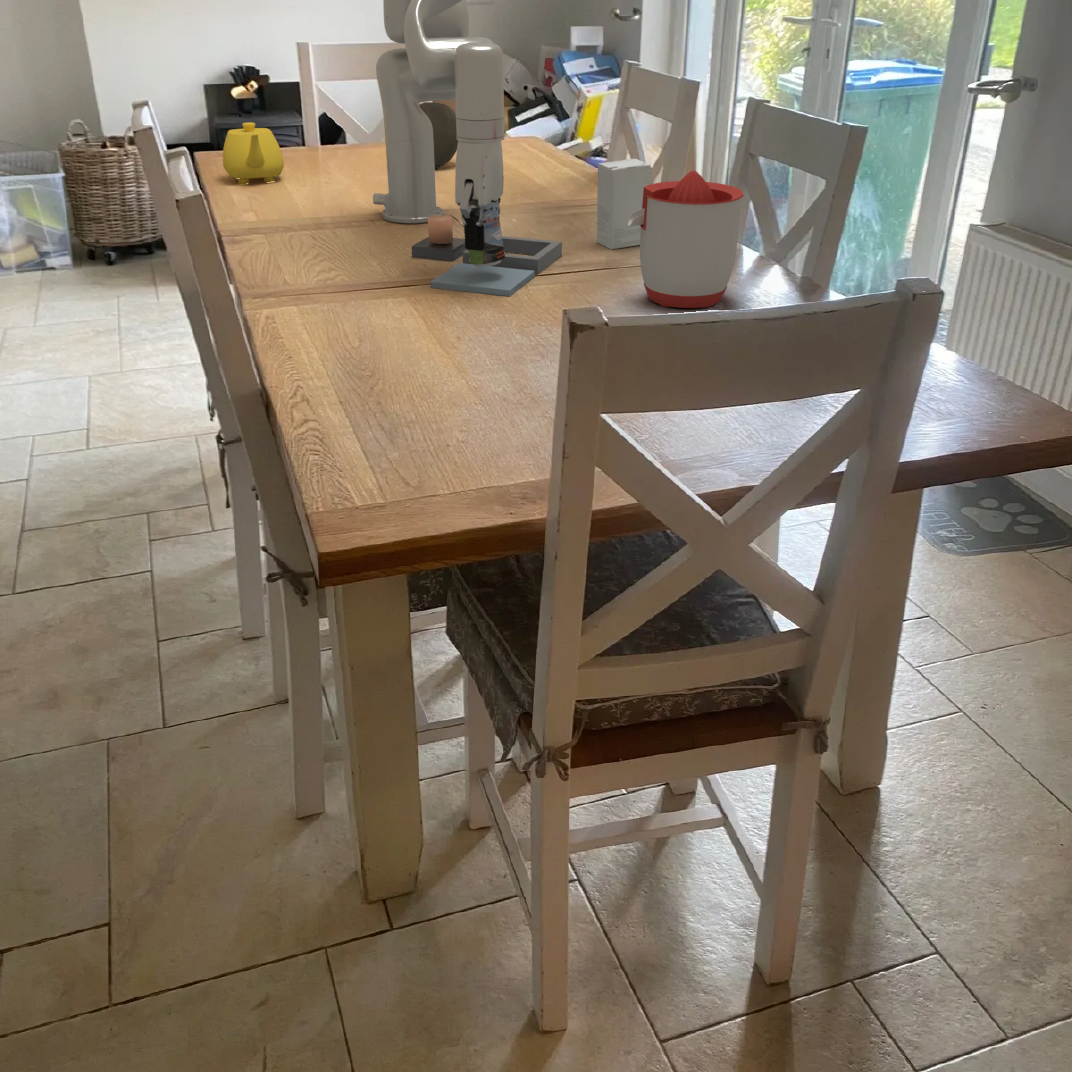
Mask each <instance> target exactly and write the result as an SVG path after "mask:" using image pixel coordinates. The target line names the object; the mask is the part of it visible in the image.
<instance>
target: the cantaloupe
mask: <svg viewBox="0 0 1072 1072" xmlns="http://www.w3.org/2000/svg"><path fill="white" fill-rule="evenodd" d="M419 107H420V108H421V110H422V111H423V112H424V113H425V114H426V115H427V117H428V118H429V119H430V121H431V124H432V127H433V141H434V165H435V169H438V168H437V167H439V168H440V167H443V166H444V165H447V164H448V163H449V162H450V161H451V160H452V158H453V157H454V156H455V155H456V154H457V145H458V140H457V134H456V111H455V110H454V109H453V108H452V107H450V106H449V105H447V104H446V103H442V102H441V103H440V102H435V101H426V102H421V103H419Z"/></svg>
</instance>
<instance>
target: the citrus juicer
mask: <svg viewBox="0 0 1072 1072" xmlns="http://www.w3.org/2000/svg"><path fill="white" fill-rule="evenodd" d="M743 197H744V191H742V190H741V189H740V188H738V187H735V186H733V185H729V184H725V183H718V182H709V181H706V180H705V179H704V178H703V176H702V175H701V174H700V173H698V171H696V170H694V169H693V170H690V171H689V172H688V173H686V174H685V176H683V178H681V179H680V180H676V181H675V180H673V181H662V182H656V183H655V182H654V183H650V185H647V186H645V187H644V189H643V203H642V209H641V210H638V211H635V212H634V213H632V215H631V217H630V220H629V222H628V226H629V227H630V226H637V225H640V226H641V235H640V245H639V260H640V261H639V262H640V269H641V276H642V279H643V286H644V288H645V289H644V290H645V291H646V295H647V297H648V298H649V300H651V301H652V302H654V303H657V304H658V305H659V306H660V305H661V307H663V308H671V307H673V308H681V309H683V308H684V309H694V308H695V309H698V308H711V307H713V305H717V304H718V303H719V302H720V301H721V300H722V297H723V296H724V294H725V292H726V290H727V288H728V284H729V281H730V278H731V276H732V274H733V269H734V265H735V262H736V255H737V248H738V239H739V237H738V236H739V228H740V227H739V226H740V218H741V207H742V198H743Z"/></svg>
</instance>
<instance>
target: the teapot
mask: <svg viewBox="0 0 1072 1072" xmlns="http://www.w3.org/2000/svg"><path fill="white" fill-rule="evenodd" d="M242 127H243V128H236V129H234V128H233V129H229V130H227V134H226V136H225V140H224V145H223V149H222V164H223V169H224V171H225V172H226V173H227V175H228V176H230V178H233V179H235V178H240V179H239V180H238V182H237V185H239V184H246V183H249V184H250V179H260V178H262V177H263V181H264V183H265V182H271V181H276V179H275V178H274V177H277V176H281V174H282V172H283V169H284V166H285V163H284V157H283V153H282V151H281V148H280V145H279V143H278V141H277V139H276V137H275V135H274V134H273V132H272V131H271V129H270V128H266V127H256V123H254V122H252V121H251V122H243V123H242Z"/></svg>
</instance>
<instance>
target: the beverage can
mask: <svg viewBox="0 0 1072 1072" xmlns="http://www.w3.org/2000/svg"><path fill="white" fill-rule="evenodd" d="M477 203H478V202H471V205H478V204H477ZM471 210H472V211H474V212H475V214H476V216H477V210H474V209H471ZM460 217H461V220H462V221H461V222H462V227H463V233H464V235H465V226H464V223H463V220H464V218H463V216H462V212H461V211H460ZM482 225H484V250H482V251H478V250H468V249H467V251H468V257H469V262H470V263H471V264H474V266H476V267H487V266H493V265H496V264H499V263H500V262H501V260H502V259H504V258H505V254H506V252H504V246H503V240H502V236H503V234H502V229H501V220H500V215H499V214H498V207H497V201H496V198H494V199H492V201H491V203H490V204H488V205H487V206H485V207H484V208H483V217H482Z"/></svg>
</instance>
